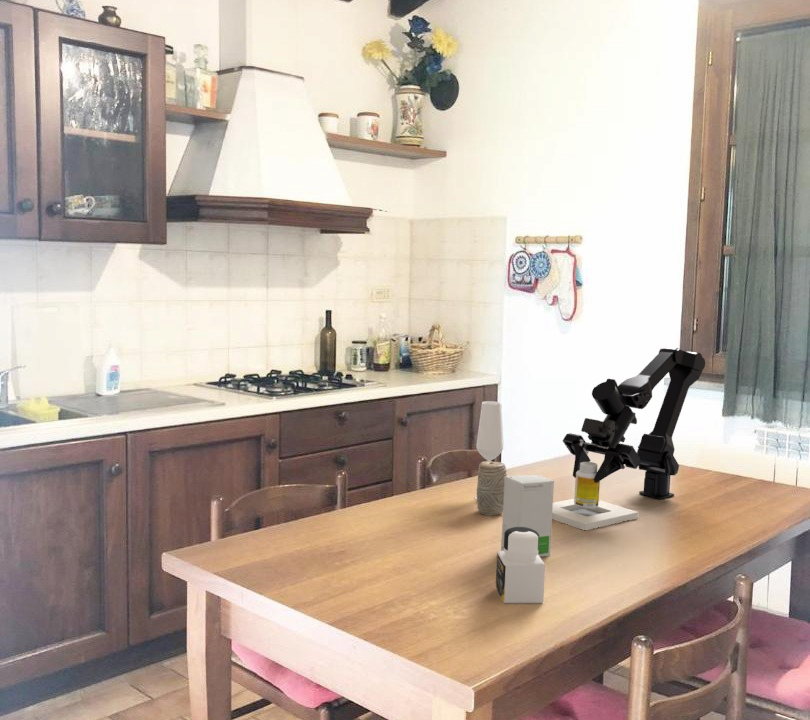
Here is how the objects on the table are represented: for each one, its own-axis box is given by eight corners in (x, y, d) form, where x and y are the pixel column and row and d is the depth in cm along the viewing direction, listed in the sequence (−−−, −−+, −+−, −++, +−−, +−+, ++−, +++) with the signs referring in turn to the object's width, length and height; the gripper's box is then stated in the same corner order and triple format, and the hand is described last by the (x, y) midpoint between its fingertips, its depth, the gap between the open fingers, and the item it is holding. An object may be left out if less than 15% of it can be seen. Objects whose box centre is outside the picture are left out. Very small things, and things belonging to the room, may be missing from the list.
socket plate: (585, 502, 217) (586, 496, 217) (637, 518, 204) (638, 512, 204) (533, 512, 206) (533, 506, 206) (584, 530, 194) (585, 524, 193)
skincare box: (517, 561, 173) (521, 483, 171) (498, 551, 178) (502, 476, 177) (552, 555, 176) (555, 480, 175) (532, 545, 182) (536, 472, 181)
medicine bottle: (495, 588, 158) (497, 523, 157) (534, 588, 158) (537, 523, 157) (502, 604, 151) (505, 536, 149) (543, 603, 151) (547, 536, 150)
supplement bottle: (601, 510, 203) (604, 466, 201) (577, 509, 202) (580, 466, 201) (594, 502, 208) (596, 460, 207) (571, 502, 208) (573, 460, 206)
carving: (469, 513, 205) (471, 462, 203) (489, 507, 210) (491, 458, 209) (491, 519, 200) (493, 467, 199) (511, 513, 206) (513, 462, 204)
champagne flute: (505, 497, 219) (510, 402, 216) (493, 503, 213) (497, 406, 210) (481, 493, 222) (485, 399, 220) (469, 498, 217) (473, 402, 214)
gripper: (569, 400, 212) (538, 451, 206) (635, 411, 198) (604, 466, 192) (587, 428, 218) (557, 478, 212) (653, 441, 204) (623, 495, 198)
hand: (584, 479), depth 204 cm, fingers closed on supplement bottle, 5 cm apart
